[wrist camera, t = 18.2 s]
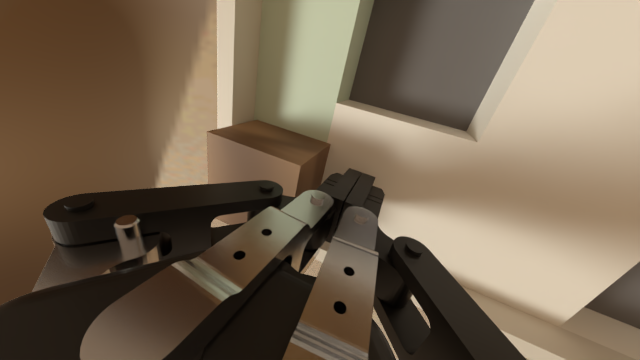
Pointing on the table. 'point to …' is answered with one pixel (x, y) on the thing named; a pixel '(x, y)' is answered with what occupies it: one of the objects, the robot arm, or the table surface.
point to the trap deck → (472, 142)
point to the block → (265, 159)
